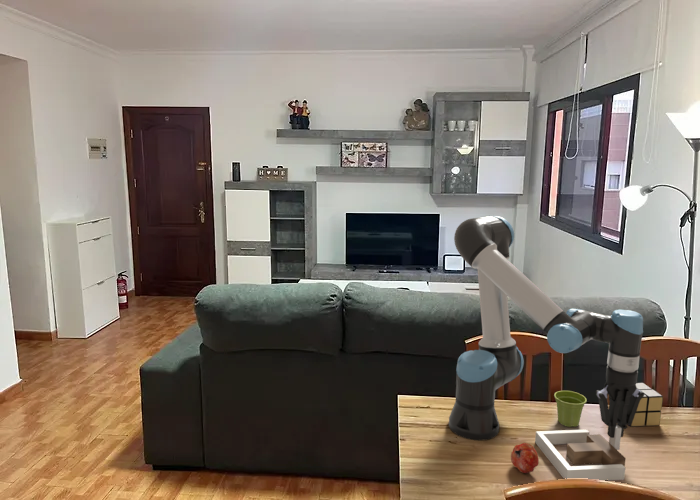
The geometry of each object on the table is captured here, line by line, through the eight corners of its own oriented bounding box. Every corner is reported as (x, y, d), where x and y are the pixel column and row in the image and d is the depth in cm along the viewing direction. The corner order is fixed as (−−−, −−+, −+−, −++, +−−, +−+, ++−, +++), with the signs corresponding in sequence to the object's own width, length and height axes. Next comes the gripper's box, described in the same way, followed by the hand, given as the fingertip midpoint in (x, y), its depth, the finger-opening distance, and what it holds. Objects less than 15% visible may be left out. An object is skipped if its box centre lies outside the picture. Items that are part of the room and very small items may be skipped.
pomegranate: (521, 466, 143) (497, 451, 140) (538, 446, 143) (515, 431, 139) (535, 485, 137) (511, 469, 133) (554, 464, 136) (530, 448, 132)
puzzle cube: (611, 411, 170) (614, 383, 168) (639, 410, 171) (643, 382, 169) (630, 427, 160) (633, 397, 159) (660, 425, 161) (663, 396, 160)
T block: (581, 473, 136) (582, 460, 136) (559, 448, 148) (560, 435, 147) (624, 471, 137) (625, 458, 137) (598, 446, 149) (600, 434, 148)
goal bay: (566, 482, 133) (567, 470, 132) (535, 442, 151) (535, 431, 151) (624, 479, 134) (625, 467, 133) (585, 440, 153) (586, 429, 152)
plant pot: (547, 423, 162) (549, 397, 161) (558, 412, 170) (560, 387, 168) (578, 433, 156) (581, 407, 155) (588, 421, 164) (590, 396, 162)
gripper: (607, 373, 135) (599, 456, 139) (654, 372, 136) (644, 453, 140) (591, 362, 142) (584, 440, 146) (636, 361, 143) (627, 438, 147)
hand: (613, 447), depth 143 cm, fingers closed
